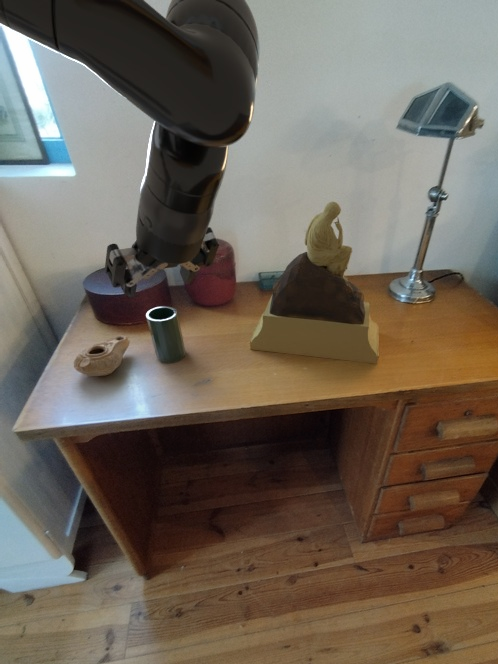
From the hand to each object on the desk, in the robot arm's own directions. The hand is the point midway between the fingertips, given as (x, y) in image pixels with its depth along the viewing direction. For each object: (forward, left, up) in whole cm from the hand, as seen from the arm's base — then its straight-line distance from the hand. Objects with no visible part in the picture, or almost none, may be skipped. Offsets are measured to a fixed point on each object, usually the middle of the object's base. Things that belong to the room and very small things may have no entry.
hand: (157, 284), depth 57 cm
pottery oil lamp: (-12, +16, -23) cm, 30 cm away
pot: (0, +16, -23) cm, 28 cm away
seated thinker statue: (+32, +10, -23) cm, 41 cm away
